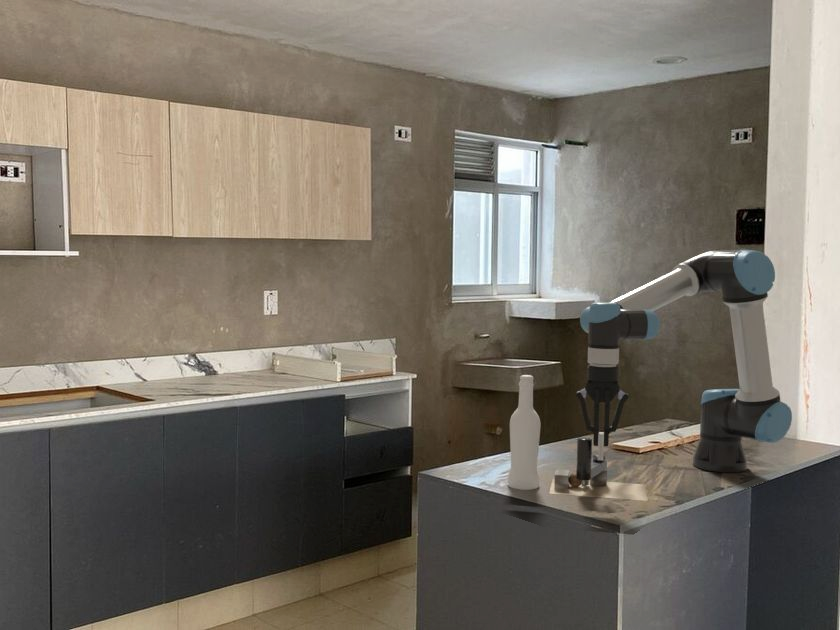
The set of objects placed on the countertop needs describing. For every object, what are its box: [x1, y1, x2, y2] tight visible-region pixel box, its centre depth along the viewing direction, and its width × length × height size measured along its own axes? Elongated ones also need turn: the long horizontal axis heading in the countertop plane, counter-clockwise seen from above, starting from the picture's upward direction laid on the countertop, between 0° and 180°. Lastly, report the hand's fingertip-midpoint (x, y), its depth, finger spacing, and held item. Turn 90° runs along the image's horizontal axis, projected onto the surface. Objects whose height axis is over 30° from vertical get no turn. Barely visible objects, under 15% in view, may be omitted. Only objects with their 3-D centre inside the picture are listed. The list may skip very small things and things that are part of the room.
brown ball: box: [568, 472, 582, 487], centre depth 221 cm, size 4×4×4 cm
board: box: [548, 469, 649, 502], centre depth 220 cm, size 24×16×5 cm, turn 78°
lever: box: [575, 437, 608, 487], centre depth 219 cm, size 4×15×14 cm, turn 148°
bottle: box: [507, 374, 542, 491], centre depth 221 cm, size 8×8×30 cm
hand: (600, 458), depth 213 cm, fingers closed
